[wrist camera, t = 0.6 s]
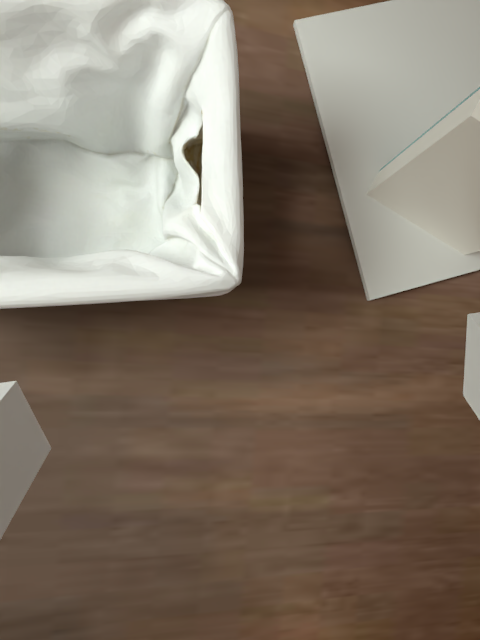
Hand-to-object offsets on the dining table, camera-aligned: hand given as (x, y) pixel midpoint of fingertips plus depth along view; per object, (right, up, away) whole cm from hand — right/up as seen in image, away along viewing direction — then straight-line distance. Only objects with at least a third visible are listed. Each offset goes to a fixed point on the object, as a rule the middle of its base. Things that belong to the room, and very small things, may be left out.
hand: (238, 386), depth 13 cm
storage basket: (-13, +10, +22) cm, 28 cm away
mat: (+19, +18, +25) cm, 36 cm away
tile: (+16, +11, +24) cm, 31 cm away
